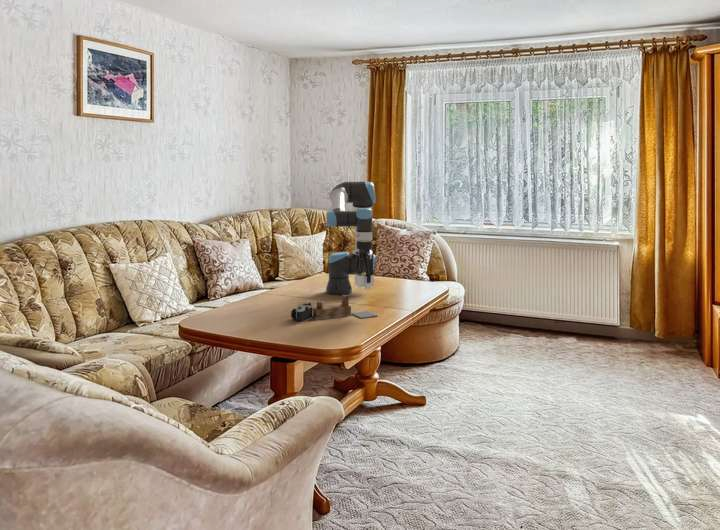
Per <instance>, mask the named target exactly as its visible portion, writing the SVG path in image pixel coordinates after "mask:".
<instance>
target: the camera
mask: <svg viewBox="0 0 720 530" xmlns="http://www.w3.org/2000/svg"><path fill="white" fill-rule="evenodd" d="M290 317H291V319H293V320H296V323H297V324H302V323H304V321H305V322H307V321H308V320H310V319H313V303H311V302H301V303H299V304H297V306H296V308H293V309H291V312H290Z"/></svg>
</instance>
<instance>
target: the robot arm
mask: <svg viewBox="0 0 720 530" xmlns="http://www.w3.org/2000/svg"><path fill="white" fill-rule="evenodd" d="M329 197H330V202H331V208H330V211H329V210H328V211H327V212H326V226H328V227H333V228H335V227H336V228H337V227H338V228H339V227H347V228H348V227H350V228H351V227H353V228H354V229H355V231H354V234H355V235H354V238H355V239H354V244H355V245H354V246H355V248H354V250H353V251H352V254H350V253H349V251H340V252H339V251H338V252H333V253H332V254H331V253H330V255H329V256H328V262H327V263H328V281H327V283H326V284H327V285H326V288H325V293H326V294H328V295H333V296H334V295H335V296H336V295H338V296H340V295H341V296H342V295H348V294H351V293H352V292H353V288H352V285H351V281H350V276H351V275H354V276H355V274H361V273H366V275H365V286H363V287H361V286H358V285H357V286H358V288H364V290H365V291H366V290H368V291H369V290H372V286H371V276H372V275H374V269H375V264H376V263H375V262H376V255H375V254H374V252H373V250H372V249H373V209H372V208H373V207H374V204H375V203H377V201H376V200H377V199H376V198H377V197H376V191H375V185H374V183H373V182H372V181H365V180H364V181H343V182H341V183H338V184H337V185H336V186H335V187H333V189H331V191H330V196H329ZM347 204H352V207H353V208H354V209H355V210H353V211H349V210H347Z"/></svg>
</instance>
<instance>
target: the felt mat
mask: <svg viewBox="0 0 720 530" xmlns="http://www.w3.org/2000/svg"><path fill="white" fill-rule="evenodd" d="M351 314H352V315H351V316H355V318H358V319H361V320H362V319H369V318H377V317H378V315H377V314H375V313H373V312H370V311H368V310H366V311H365V310H364V311H357V312H351Z"/></svg>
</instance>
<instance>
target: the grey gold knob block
mask: <svg viewBox="0 0 720 530" xmlns="http://www.w3.org/2000/svg"><path fill="white" fill-rule="evenodd" d="M365 275H366V273H361V274H354V285H355V286H361V287H360V288H364V287H365ZM374 284H375V276H374V274H373V275H372V276H371V287H372V286H375V285H374ZM363 286H364V287H363Z"/></svg>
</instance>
